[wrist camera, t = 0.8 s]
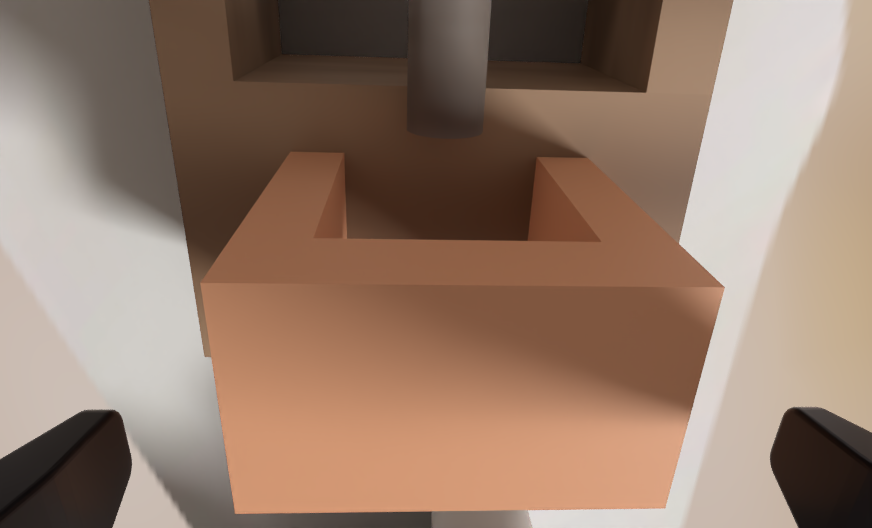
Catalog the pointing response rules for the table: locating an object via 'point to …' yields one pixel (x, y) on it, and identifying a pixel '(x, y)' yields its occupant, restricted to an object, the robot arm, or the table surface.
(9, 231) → the table surface
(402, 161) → the wooden divided tray
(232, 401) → the staple
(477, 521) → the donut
